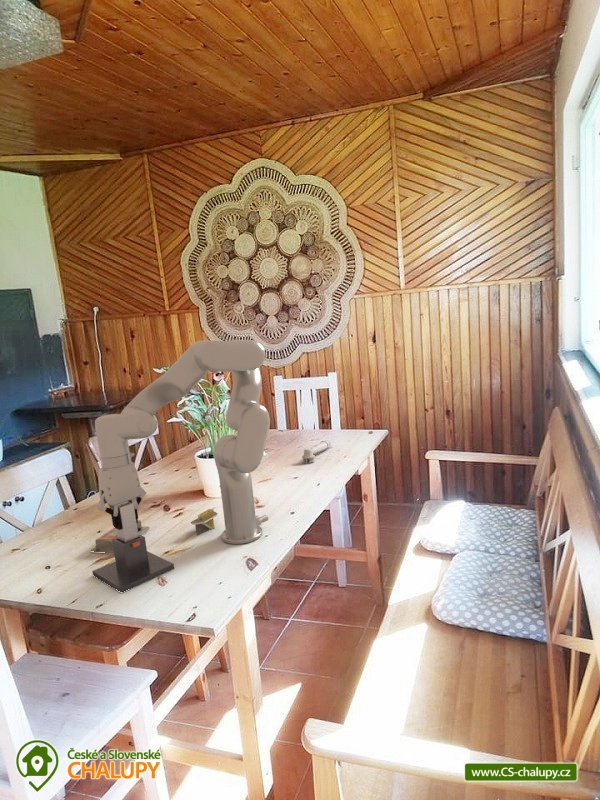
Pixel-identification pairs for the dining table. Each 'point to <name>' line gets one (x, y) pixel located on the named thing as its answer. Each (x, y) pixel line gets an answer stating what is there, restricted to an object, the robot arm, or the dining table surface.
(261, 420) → the robot arm
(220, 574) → the dining table surface
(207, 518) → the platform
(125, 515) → the column
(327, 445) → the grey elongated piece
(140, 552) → the stand housing
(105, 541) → the packaged product
